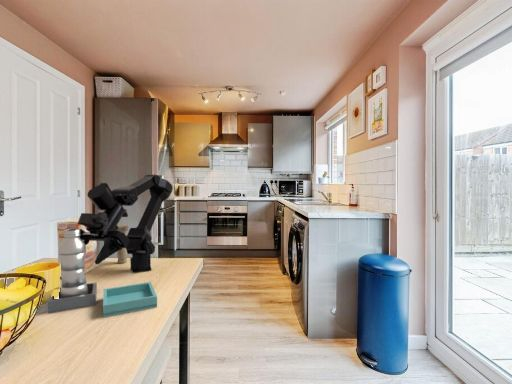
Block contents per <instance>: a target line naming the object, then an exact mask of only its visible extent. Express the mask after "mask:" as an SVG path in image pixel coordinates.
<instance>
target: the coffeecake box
mask: <svg viewBox="0 0 512 384" xmlns="http://www.w3.org/2000/svg"><path fill="white" fill-rule="evenodd" d="M79 218H80V217H76V218H71V219H67V220H63V221H59V222H58V221H57V223H56V225H57V226H56V227H57V262H58V263H60V264H61V262H60V257H59V251H58V250H59V247H60V245H61V244H62V243H63V241H64V240H65V237H64V231H65V230H67V229H82V230H83V231H84V232H85V233H87V234H90V231H87V230H86V228H87V227H86V226H83V225H79V224H78V221H79ZM97 256H98V241H91V240H90V241H89V243H88V244H87V245H86V256H85V274H87V273H88V272H90V271H91V270H93V269H95V268H97V267H98V264H95V260H96V258H97ZM58 263H57V264H58ZM60 279H62V269H61V278H60Z"/></svg>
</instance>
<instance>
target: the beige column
mask: <svg viewBox="0 0 512 384" xmlns="http://www.w3.org/2000/svg"><path fill="white" fill-rule="evenodd" d="M117 226H118V227H119V228H118V230H122V231H123V232H124V234H125V235H126V236H127V232H128V231H129V225H127V224H122V225H121V224H120V225H117ZM116 256H117V263H118V264H125V263H127V262H128V259H127V257H128V254H127V250H126V248H122V250H119V251H117V252H116Z"/></svg>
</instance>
